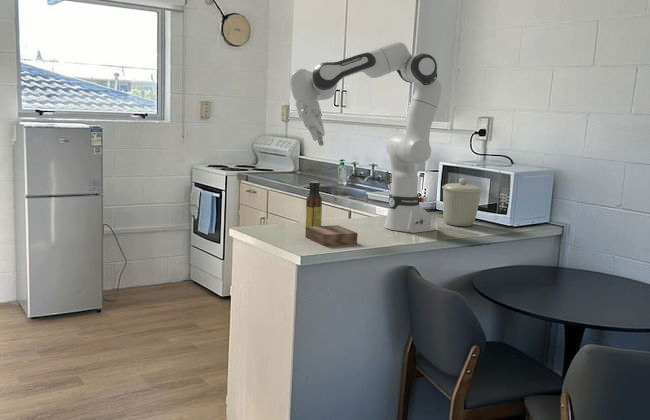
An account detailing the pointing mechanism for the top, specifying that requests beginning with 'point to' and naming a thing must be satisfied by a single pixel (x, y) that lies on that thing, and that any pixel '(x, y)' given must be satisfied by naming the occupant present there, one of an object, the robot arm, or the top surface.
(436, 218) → the top surface
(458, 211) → the canister
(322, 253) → the top surface
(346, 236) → the block
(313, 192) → the sauce bottle
